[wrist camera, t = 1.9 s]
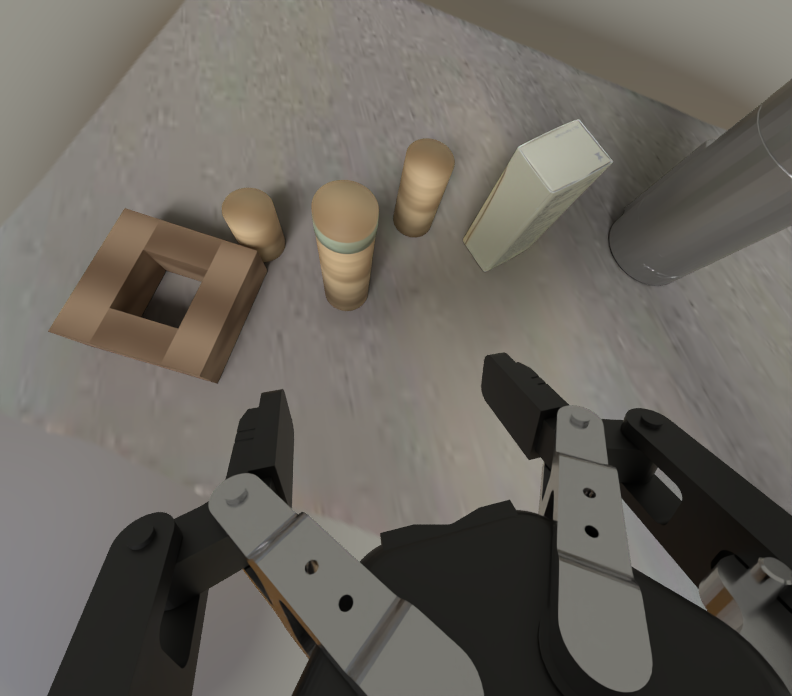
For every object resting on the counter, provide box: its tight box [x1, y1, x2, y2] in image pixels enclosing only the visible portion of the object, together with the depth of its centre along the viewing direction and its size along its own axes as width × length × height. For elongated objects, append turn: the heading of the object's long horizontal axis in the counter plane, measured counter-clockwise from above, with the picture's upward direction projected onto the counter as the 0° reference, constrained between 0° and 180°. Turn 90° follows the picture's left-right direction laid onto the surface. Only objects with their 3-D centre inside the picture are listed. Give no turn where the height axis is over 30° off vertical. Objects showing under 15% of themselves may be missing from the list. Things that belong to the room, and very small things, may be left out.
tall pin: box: [312, 180, 379, 311], centre depth 26 cm, size 4×4×12 cm
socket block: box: [48, 208, 267, 383], centre depth 27 cm, size 11×11×4 cm
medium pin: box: [393, 139, 455, 237], centre depth 31 cm, size 4×4×8 cm
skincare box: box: [463, 119, 613, 272], centre depth 29 cm, size 6×4×12 cm
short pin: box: [222, 188, 285, 262], centre depth 29 cm, size 4×4×5 cm
